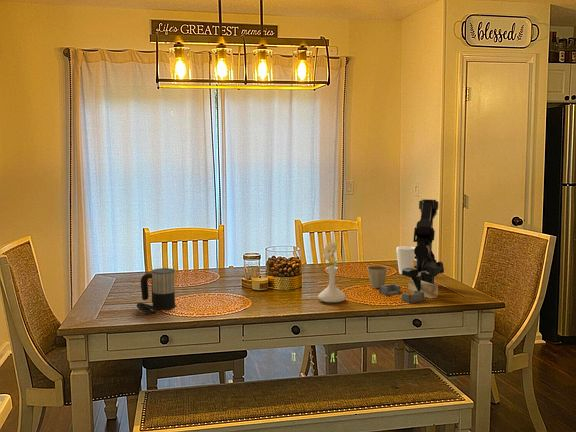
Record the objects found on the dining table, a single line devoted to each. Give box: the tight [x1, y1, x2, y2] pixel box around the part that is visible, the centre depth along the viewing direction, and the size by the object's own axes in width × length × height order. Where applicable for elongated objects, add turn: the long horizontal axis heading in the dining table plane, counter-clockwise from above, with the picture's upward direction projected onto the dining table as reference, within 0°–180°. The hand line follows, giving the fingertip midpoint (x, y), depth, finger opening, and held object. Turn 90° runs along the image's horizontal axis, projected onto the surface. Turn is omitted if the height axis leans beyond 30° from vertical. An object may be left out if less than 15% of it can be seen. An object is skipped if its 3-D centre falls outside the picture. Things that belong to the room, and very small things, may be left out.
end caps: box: [379, 283, 425, 304], centre depth 235 cm, size 8×19×3 cm, turn 29°
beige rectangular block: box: [408, 279, 439, 299], centre depth 239 cm, size 4×14×5 cm, turn 26°
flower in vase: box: [317, 241, 347, 303], centre depth 227 cm, size 13×11×25 cm
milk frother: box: [136, 267, 177, 314], centre depth 218 cm, size 14×16×15 cm
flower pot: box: [366, 265, 389, 289], centre depth 254 cm, size 9×9×9 cm
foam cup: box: [396, 245, 416, 275], centre depth 282 cm, size 10×9×13 cm
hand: (422, 290), depth 240 cm, fingers closed on beige rectangular block, 4 cm apart
